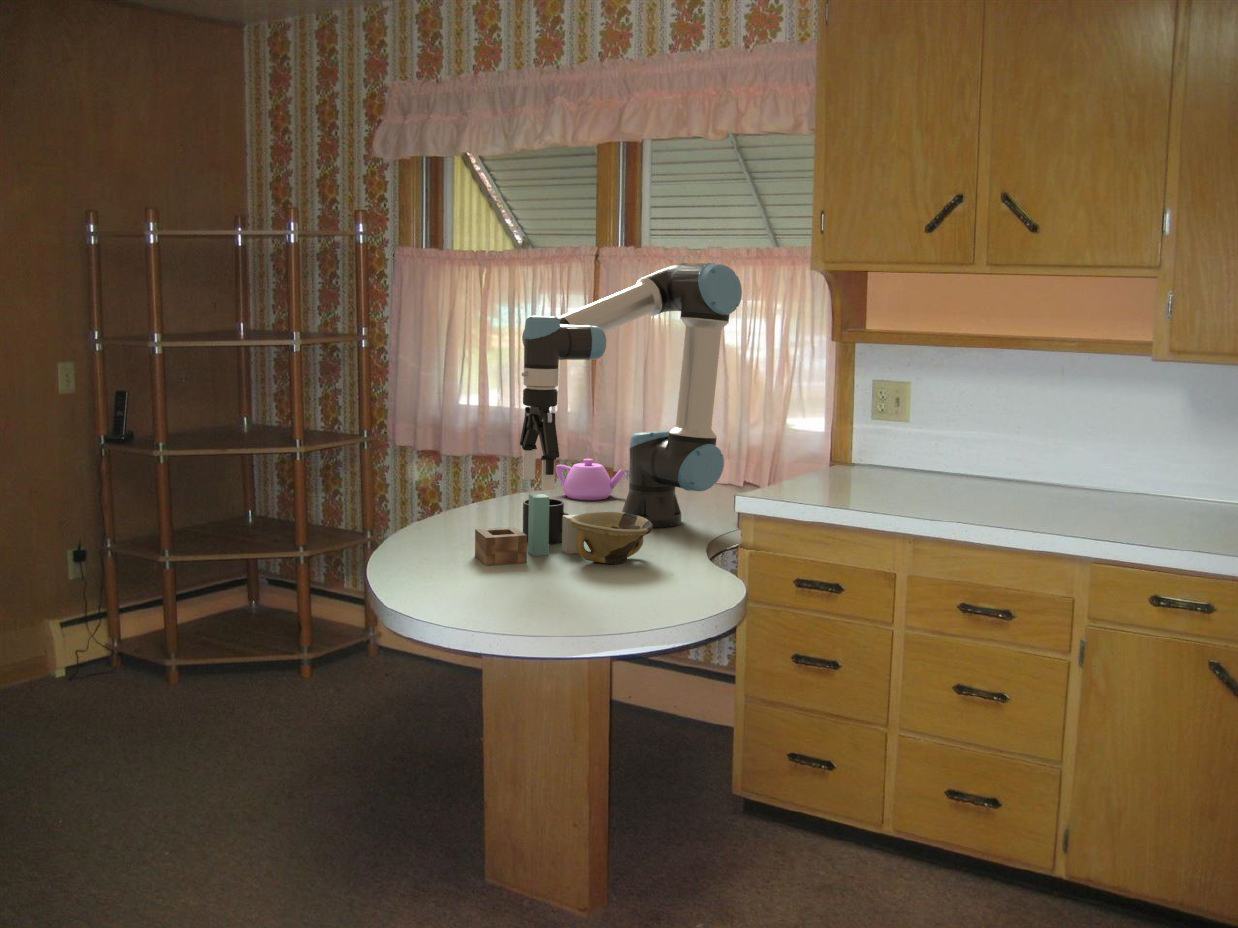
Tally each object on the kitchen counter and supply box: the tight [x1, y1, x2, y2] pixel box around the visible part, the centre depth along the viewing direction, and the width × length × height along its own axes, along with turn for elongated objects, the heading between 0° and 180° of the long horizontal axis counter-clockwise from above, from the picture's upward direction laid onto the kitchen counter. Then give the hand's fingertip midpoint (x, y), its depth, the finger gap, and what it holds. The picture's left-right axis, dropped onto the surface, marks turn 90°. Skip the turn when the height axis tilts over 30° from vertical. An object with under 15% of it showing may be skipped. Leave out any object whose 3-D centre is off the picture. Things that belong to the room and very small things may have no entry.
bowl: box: [570, 511, 653, 565], centre depth 261 cm, size 18×18×10 cm
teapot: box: [555, 458, 627, 501], centre depth 336 cm, size 14×20×11 cm
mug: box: [522, 498, 570, 545], centre depth 280 cm, size 9×12×9 cm
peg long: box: [527, 493, 550, 557], centre depth 266 cm, size 4×4×13 cm
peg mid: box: [561, 514, 579, 555], centre depth 270 cm, size 4×4×8 cm
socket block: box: [474, 526, 528, 566], centre depth 261 cm, size 9×9×6 cm
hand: (538, 484), depth 265 cm, fingers open, 13 cm apart
